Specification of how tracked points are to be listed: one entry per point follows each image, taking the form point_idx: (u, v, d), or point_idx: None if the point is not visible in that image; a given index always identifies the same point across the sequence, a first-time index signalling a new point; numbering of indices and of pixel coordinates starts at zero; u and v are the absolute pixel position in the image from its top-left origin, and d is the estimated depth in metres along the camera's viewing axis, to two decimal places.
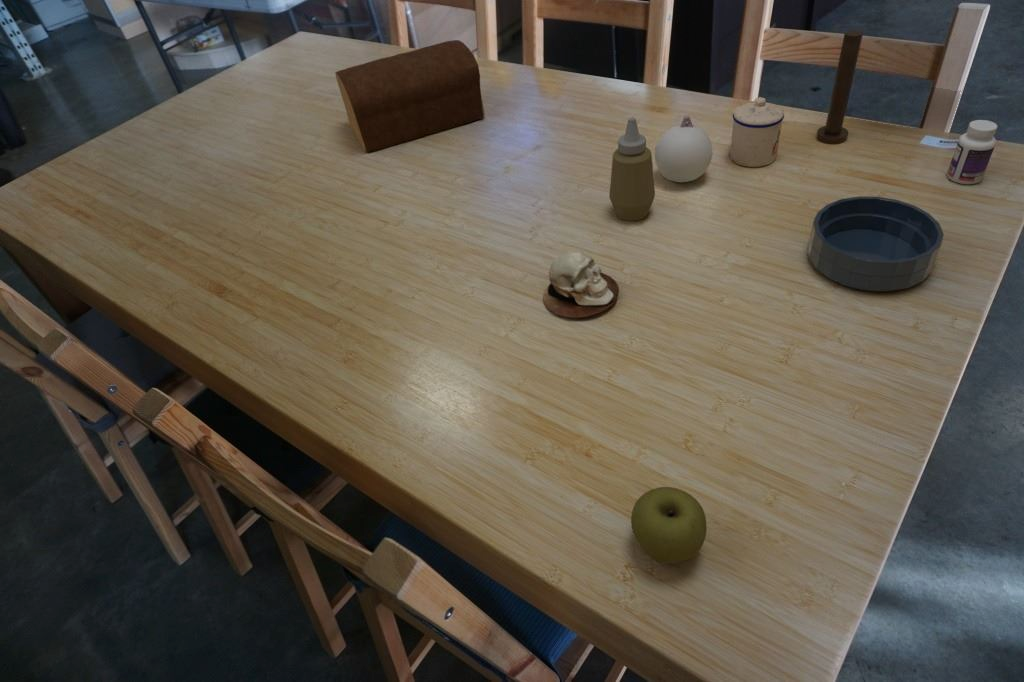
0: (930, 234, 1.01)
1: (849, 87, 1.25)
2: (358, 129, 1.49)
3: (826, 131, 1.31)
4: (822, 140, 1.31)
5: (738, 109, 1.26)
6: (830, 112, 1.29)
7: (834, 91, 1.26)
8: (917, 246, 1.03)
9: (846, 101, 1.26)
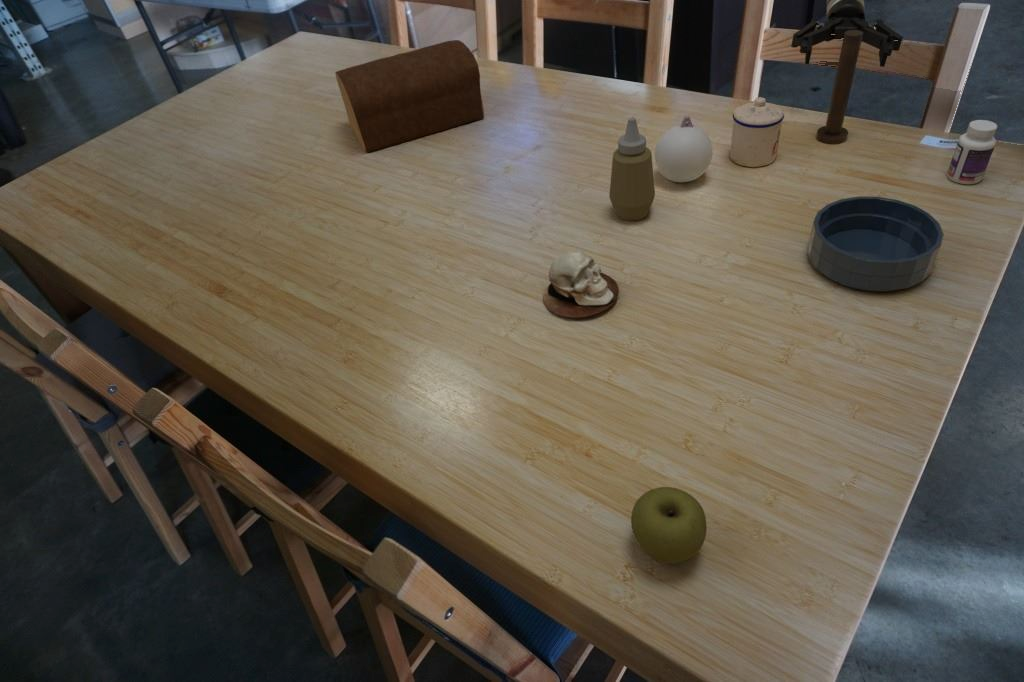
0: (930, 234, 1.01)
1: (849, 87, 1.25)
2: (358, 129, 1.49)
3: (826, 131, 1.31)
4: (822, 140, 1.31)
5: (738, 109, 1.26)
6: (830, 112, 1.29)
7: (834, 91, 1.26)
8: (917, 246, 1.03)
9: (846, 101, 1.26)
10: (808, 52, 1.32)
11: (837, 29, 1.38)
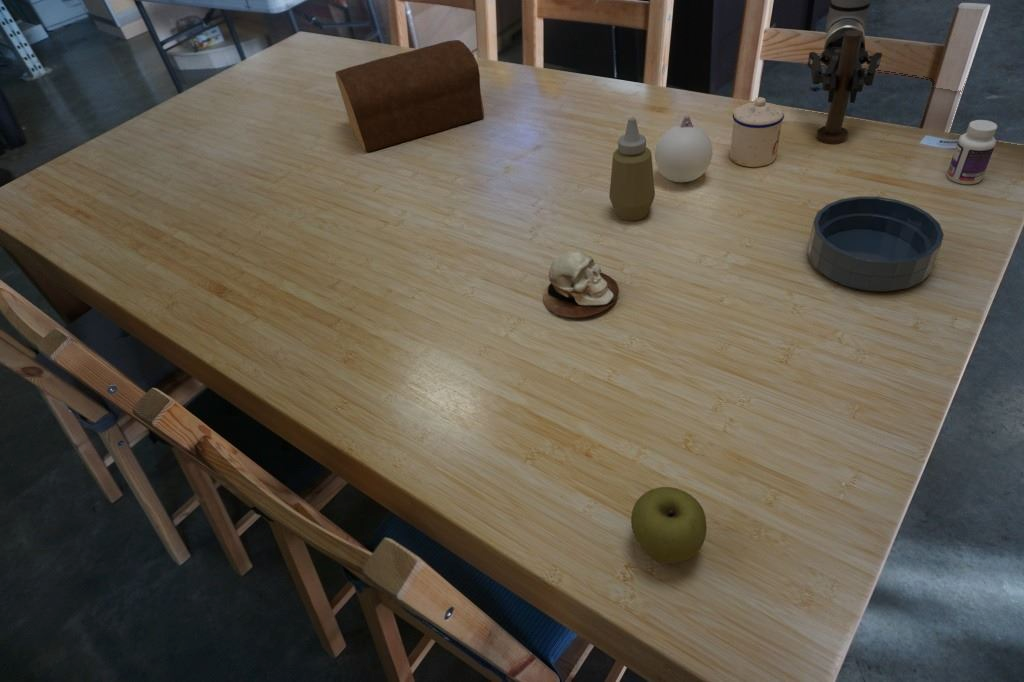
0: (930, 234, 1.01)
1: (849, 87, 1.25)
2: (358, 129, 1.49)
3: (826, 131, 1.31)
4: (822, 140, 1.31)
5: (738, 109, 1.26)
6: (830, 112, 1.29)
7: None
8: (917, 246, 1.03)
9: (846, 101, 1.26)
10: (831, 90, 1.22)
11: None
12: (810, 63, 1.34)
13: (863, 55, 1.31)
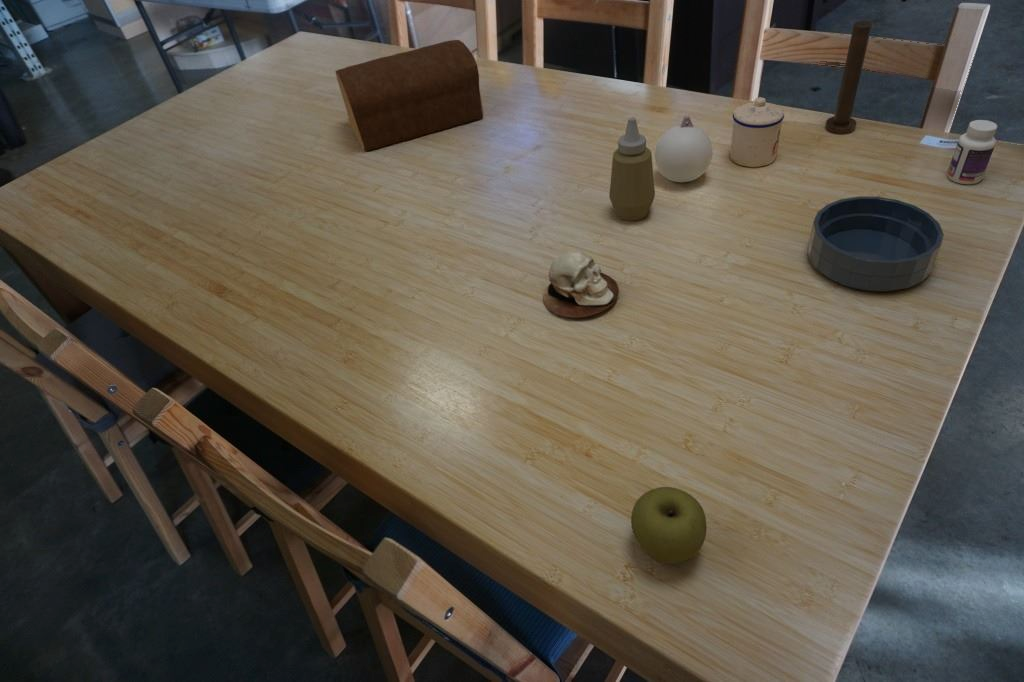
0: (930, 234, 1.01)
1: (858, 78, 1.27)
2: (357, 128, 1.49)
3: (835, 121, 1.34)
4: (831, 130, 1.34)
5: (738, 109, 1.26)
6: (839, 103, 1.31)
7: (843, 82, 1.28)
8: (917, 246, 1.03)
9: (855, 92, 1.29)
10: None
11: None
12: None
13: None
